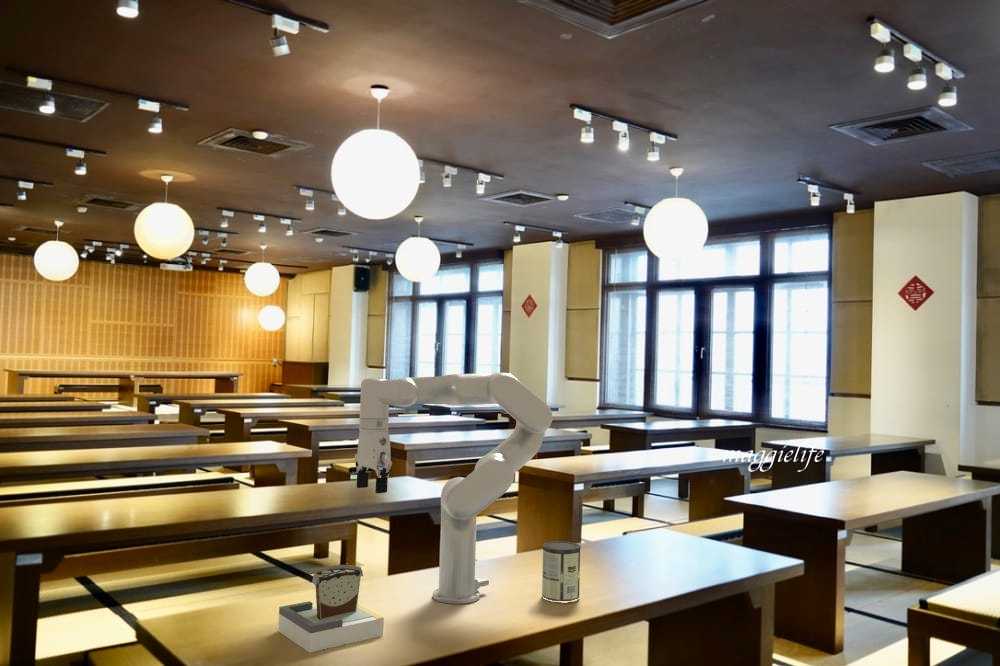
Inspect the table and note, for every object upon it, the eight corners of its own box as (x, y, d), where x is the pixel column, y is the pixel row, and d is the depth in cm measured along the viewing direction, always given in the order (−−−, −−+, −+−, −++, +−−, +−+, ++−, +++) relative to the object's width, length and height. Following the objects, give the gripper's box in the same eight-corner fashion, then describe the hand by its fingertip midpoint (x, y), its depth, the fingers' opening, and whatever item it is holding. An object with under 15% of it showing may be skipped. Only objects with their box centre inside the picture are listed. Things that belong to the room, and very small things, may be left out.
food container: (347, 604, 184) (349, 561, 185) (361, 610, 180) (363, 567, 180) (300, 614, 176) (302, 569, 176) (314, 621, 171) (316, 575, 172)
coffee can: (553, 590, 216) (554, 539, 216) (586, 597, 210) (587, 544, 210) (534, 598, 207) (535, 545, 208) (568, 606, 201) (569, 551, 202)
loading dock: (348, 616, 188) (349, 593, 188) (383, 635, 176) (383, 611, 176) (278, 631, 176) (279, 606, 177) (309, 652, 164) (310, 626, 164)
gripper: (403, 427, 200) (401, 493, 200) (369, 422, 214) (367, 484, 213) (378, 428, 195) (376, 496, 195) (345, 422, 209) (343, 486, 208)
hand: (371, 490), depth 204 cm, fingers open, 9 cm apart
